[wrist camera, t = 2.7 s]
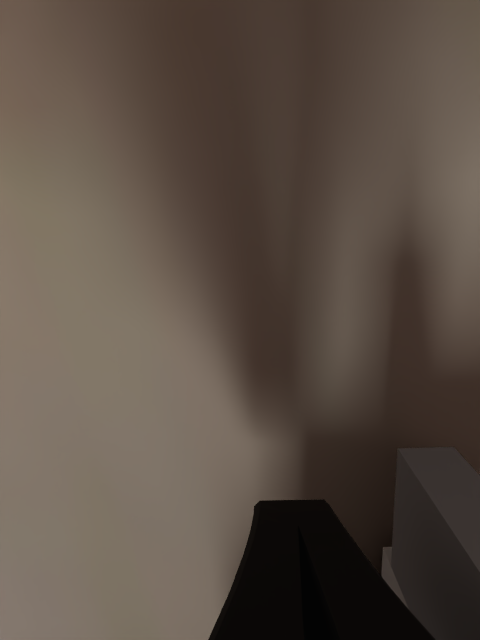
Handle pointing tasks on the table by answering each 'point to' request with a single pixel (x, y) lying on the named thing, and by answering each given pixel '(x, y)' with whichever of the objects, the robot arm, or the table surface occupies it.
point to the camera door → (436, 541)
